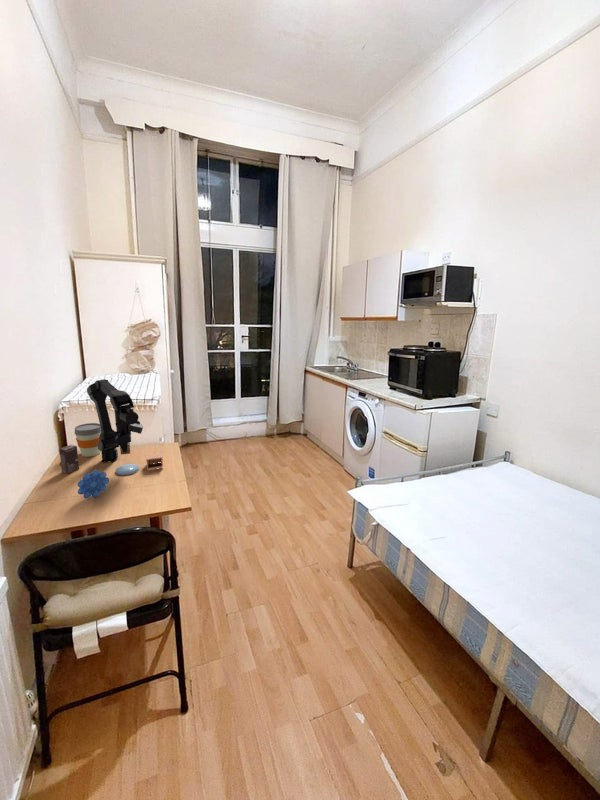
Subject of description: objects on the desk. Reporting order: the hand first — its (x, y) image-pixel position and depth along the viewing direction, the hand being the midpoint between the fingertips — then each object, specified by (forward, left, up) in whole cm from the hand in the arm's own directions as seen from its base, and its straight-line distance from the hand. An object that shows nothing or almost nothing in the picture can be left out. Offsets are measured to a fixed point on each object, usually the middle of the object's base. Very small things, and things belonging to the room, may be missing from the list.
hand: (125, 450), depth 168 cm
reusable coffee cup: (-24, +25, -11) cm, 36 cm away
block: (0, 0, -1) cm, 1 cm away
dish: (0, 0, -11) cm, 11 cm away
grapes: (-7, -23, -11) cm, 26 cm away
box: (-26, +4, -11) cm, 28 cm away
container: (+12, +3, -11) cm, 16 cm away
